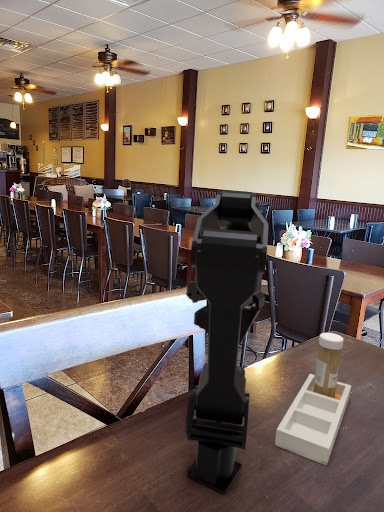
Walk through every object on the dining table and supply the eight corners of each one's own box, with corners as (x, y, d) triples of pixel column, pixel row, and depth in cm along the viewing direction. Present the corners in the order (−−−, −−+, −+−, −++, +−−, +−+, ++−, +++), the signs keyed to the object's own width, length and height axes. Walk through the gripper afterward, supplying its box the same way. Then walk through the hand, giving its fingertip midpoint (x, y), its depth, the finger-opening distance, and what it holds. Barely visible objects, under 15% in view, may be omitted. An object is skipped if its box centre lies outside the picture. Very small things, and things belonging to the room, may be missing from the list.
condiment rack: (326, 465, 62) (329, 448, 61) (274, 445, 66) (276, 429, 65) (349, 397, 82) (351, 384, 82) (308, 385, 86) (310, 372, 86)
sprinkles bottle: (337, 405, 78) (346, 342, 75) (313, 402, 78) (322, 339, 75) (332, 393, 82) (340, 333, 79) (309, 390, 83) (317, 330, 80)
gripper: (218, 256, 82) (213, 326, 85) (169, 271, 66) (165, 356, 69) (269, 264, 77) (261, 338, 80) (229, 283, 61) (222, 375, 64)
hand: (228, 350), depth 73 cm, fingers open, 9 cm apart
